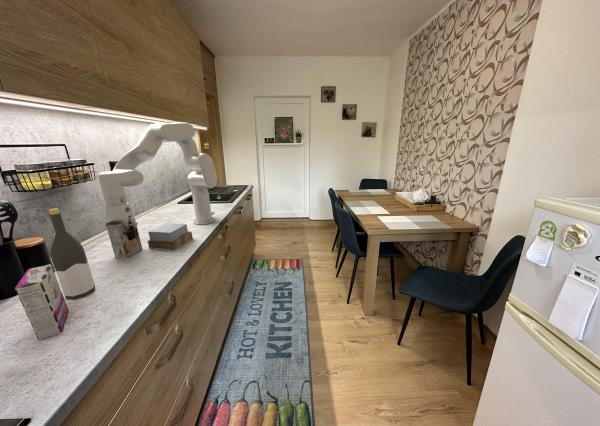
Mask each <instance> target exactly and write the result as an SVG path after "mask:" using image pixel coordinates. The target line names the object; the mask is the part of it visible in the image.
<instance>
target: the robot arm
mask: <svg viewBox="0 0 600 426" xmlns="http://www.w3.org/2000/svg"><path fill="white" fill-rule="evenodd" d="M195 131H196V130H195V128H194V126H193V125H192V124H191V123H189V122H171V123H168V122H167V123H152V124H150V125H149V126H147V128H146V129H145V131H144V133H143V134H142V136H141V137H140V138H139V140H138V141H137V144H135V146H134V147H133V148H132V149H131V150H129V151H128V152H126V154H124V155H122V157H121V158H119V160H118V161H117V163H116V164H115V165H114V168H113V169H112V171H103V172H100V173H99V174H98V176H97V178H98V180H99V185H100V189H101V192H102V196H103V200H104V204H105V208H104V209H105V216H106V219H107V220H106V221H105V224H106V223H109V222H122V223H123V225H124V226H125V227H126V230H127V231H128V232H127V236H128V240H129V241H131V240H133V239H135V238H136V237H135V233H134V230H135V228H136V226H137V227H138V224H139V223H138V222H137V221H136V217H135V215H134V212H133V209H132V206H131V205H130V202H128V199H127V197H126V192H125V188H129V187H137V186H140V185H142V183H143V182H144V179H145V177H144V175H143V173H142V172H140V171H139V170H136V169H137V168H138V166H140V165H142V164H144V163H146V162H149V161H150V160H153V159H154V158H155V157H156V155H157V154H158V152H159V149H160V148H161V147H162V145H163V143H172V142H175V143H176V144H177V145H178V146H179V148H180V151H181V154H182V156H183V160H184V163H185V165H186V167H187V169H189V170H192V171H191V172H190V173H189V174H188V176H187V183H188V184H189V187H190V191H191V197H192V203H193V210H194V216H195V219H194V220H193V224H194V225H208V224H211V223H214V222H215V220H216V219H215V217H213V216H214V215H215V214H216V212H215V211H212V209H211V200H210V193H209V191H208V189H212V188H215V187H216V186H217V184H218V177H217V172H216V169H215V165H214V161H213V158H212V157H211V156H210V155H209V154H207V153H206V152H205V153H204V152H199V150H198V146H197V144H196V141H195V140H194V136H195V133H196V132H195ZM193 170H194V171H193ZM128 223H130V224H129V225H128ZM128 226H130V229H129V227H128Z"/></svg>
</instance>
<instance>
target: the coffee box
mask: <svg viewBox="0 0 600 426" xmlns="http://www.w3.org/2000/svg"><path fill="white" fill-rule="evenodd" d="M129 224H130V223H128V225H129ZM105 226H106V227H105V228H106V230H107V233H108V237H109V240H110V243H111V248H112V251H113V254H114V257H115V258H124V259H126V258H128V257H130V256H132V255H134V254H135V253H137V252H139V251H142V250H143V246H142V241H141V238H140V234H139V233H140V232H139V230H138V225H137V226H136V228H135V230H134V233H135V237H136V238H135V239H133V240H131V241H129V240H128V236H127V232H128V231H127V230H126V227H125V226H124V225H123V223H122V222H109V223H106V222H105ZM128 227H129V229H130V226H128Z"/></svg>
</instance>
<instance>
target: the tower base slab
mask: <svg viewBox="0 0 600 426" xmlns="http://www.w3.org/2000/svg"><path fill="white" fill-rule="evenodd" d="M193 237H194V236H193V231H189V230H188V232H187V233H186V234H184V235H182V236H181V237H179V238H177V239H176V240H174V241H172V242H171V241H155V240H150V239H148V240H147V243H148V244H147V245H148V248H149V249H156V250H169V251H170V250H171V251H175V250H177V249H178V248H181V247H182V246H183V245H185V244H187V243H188V242H190V241H191V240H192V239H194V238H193Z"/></svg>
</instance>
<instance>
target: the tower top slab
mask: <svg viewBox="0 0 600 426" xmlns="http://www.w3.org/2000/svg"><path fill="white" fill-rule="evenodd" d="M187 225H188V224H187V223H176V222H175V223H173V222H165V223H163V224H161V225H159V226H156V227H154V228H153V229H150V230H148V237H149V240H155V241H171V242H172V241H174V240H176V239H177V238H179V237H181V236H182V235H184V234H186V233H187V232H188V231H189V230H188V226H187Z"/></svg>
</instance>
